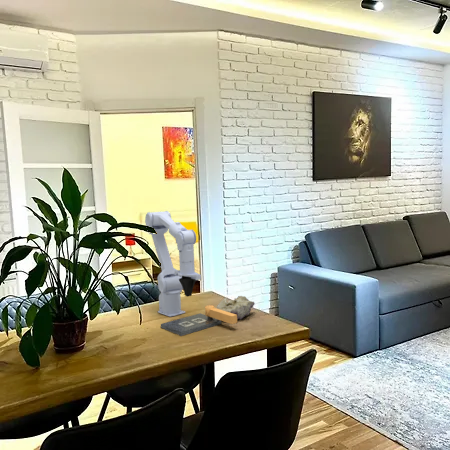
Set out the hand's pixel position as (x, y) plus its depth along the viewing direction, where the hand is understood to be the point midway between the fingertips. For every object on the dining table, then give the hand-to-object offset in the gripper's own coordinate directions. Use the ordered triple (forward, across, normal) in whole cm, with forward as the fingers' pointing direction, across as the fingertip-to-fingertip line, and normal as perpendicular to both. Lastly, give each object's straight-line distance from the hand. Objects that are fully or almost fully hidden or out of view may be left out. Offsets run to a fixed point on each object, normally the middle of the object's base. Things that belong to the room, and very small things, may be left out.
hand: (188, 295), depth 180 cm
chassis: (+10, +4, -2) cm, 12 cm away
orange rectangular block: (+8, +12, +6) cm, 15 cm away
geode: (+11, +7, +17) cm, 22 cm away
